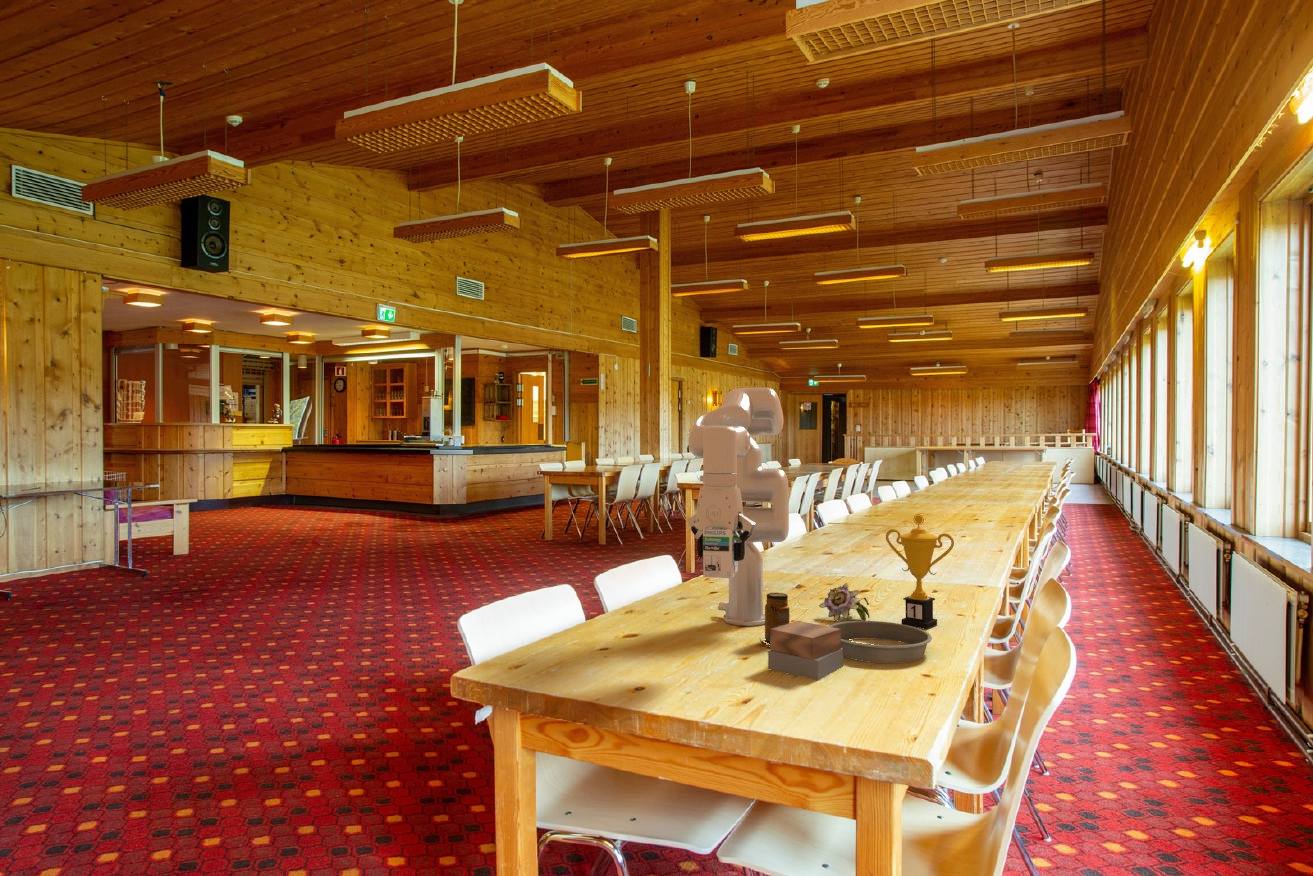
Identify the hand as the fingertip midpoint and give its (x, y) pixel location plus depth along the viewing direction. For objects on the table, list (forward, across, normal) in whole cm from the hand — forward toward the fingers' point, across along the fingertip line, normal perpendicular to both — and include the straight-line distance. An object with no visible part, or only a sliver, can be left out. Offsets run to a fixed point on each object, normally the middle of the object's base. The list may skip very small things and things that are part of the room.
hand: (720, 558), depth 167 cm
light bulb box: (+4, 0, 0) cm, 4 cm away
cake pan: (+25, +23, +33) cm, 47 cm away
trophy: (+25, +23, +63) cm, 71 cm away
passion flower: (+25, +4, +58) cm, 63 cm away
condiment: (+24, +1, +24) cm, 34 cm away
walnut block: (+20, +16, +10) cm, 27 cm away
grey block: (+24, +16, +10) cm, 31 cm away
